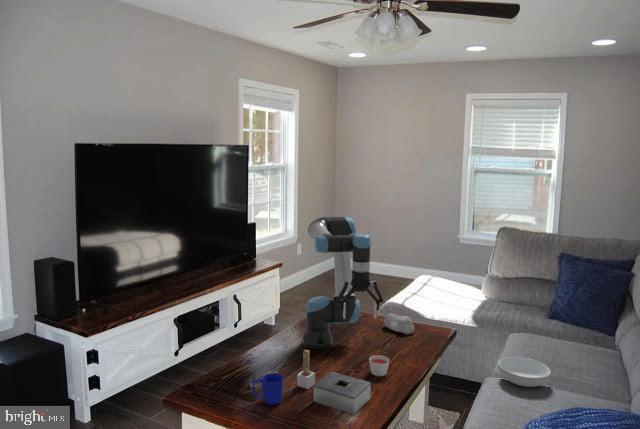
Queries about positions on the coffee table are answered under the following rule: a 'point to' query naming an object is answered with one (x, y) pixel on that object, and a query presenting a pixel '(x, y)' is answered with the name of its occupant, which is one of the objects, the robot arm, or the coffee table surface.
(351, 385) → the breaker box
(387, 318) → the decorative stone
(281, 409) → the coffee table surface
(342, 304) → the robot arm
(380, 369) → the candle
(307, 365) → the peg
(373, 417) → the coffee table surface
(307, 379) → the hollow square box
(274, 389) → the mug
